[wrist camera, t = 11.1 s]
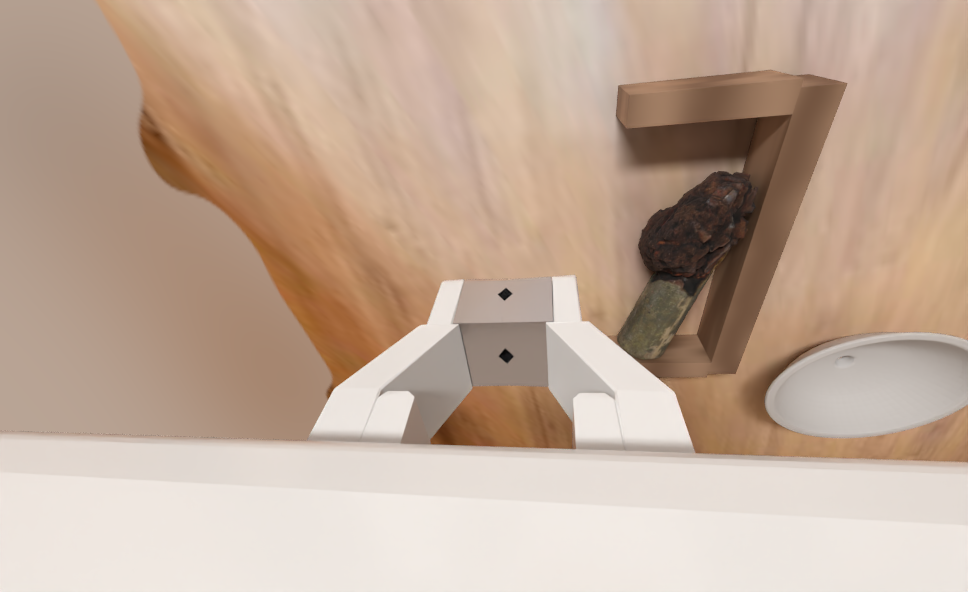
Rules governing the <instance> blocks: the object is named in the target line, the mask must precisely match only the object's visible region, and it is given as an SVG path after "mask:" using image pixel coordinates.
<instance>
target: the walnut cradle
mask: <svg viewBox="0 0 968 592" xmlns="http://www.w3.org/2000/svg"><path fill="white" fill-rule="evenodd" d="M846 86H847V83H844V82H840V81H836V80H831V79H827V78H823V77H818V76H814V75H810V74H808V75H797V76H793V75H789V74H785V73H781V72H777V71H773V70H766V71H756V72H746V73H736V74H726V75H717V76H707V77H697V78H687V79H677V80H667V81H657V82H647V83H637V84H627V85H618V97H617V109H616V116H617V117H618V119H619V120H620V121H621V122H622V124H623V125H624V126H625V127H626V129H627V128H639V127H651V126H662V125H674V124H686V123H697V122H709V121H721V120H732V119H744V118H756V117H758V119H757V123H756V126H755V130H754V133H753V137H752V140H751V144H750V148H749V151H748V155H747V158H746V162H745V165H744V169H743V173H747V174H750V178H749V182H751V185H752V189H754V188H755V186H756V187H758V190H757V193H756V196H755V199H754V204H755V206H756V207H755V209H754V210H753V212H752V213H749V214H747V215H746V216H745V220H747V221H749V222H748V224H747V225H746V227H747V229H748V231H747V232H746V234H745V237H744V238H743V239H739V241H738V243H737V244H736V245H733V247H732V248H731V249H730V251H729V252H728V253H727V254H726V256H725V258H724V259H723V260H722V261H721V262H720V263H719V264H718V265H717V266H716V269H715V273H714V276H713V280H712V283H711V287H710V290H709V294H708V298H707V301H706V305H705V308H704V312H703V315H702V319H701V323H700V326H699V330H698V333H697V335H674V337H673V338H672V340H671V342H670V343H669V345H668V347H667V349H666V350H665V352H664V354H663V355H662V356H661V357H659V358H656V359H638V358H635V357H633V356H631V355H630V356H631V357H633V358H634V359H635V360H636V361H637V362H639V363H640V364H641V365H642V366H643V367H645V368H646V369H647V370H648V371H649V372H651V373H652V374H653V375H654V376H655V377H707V375H708V374H736V371H737V369H738V366H739V363H740V361H741V358H742V356H743V353H744V350H745V348H746V345H747V343H748V340H749V337H750V335H751V332H752V330H753V327H754V324H755V322H756V319H757V317H758V314H759V311H760V309H761V306H762V304H763V301H764V299H765V296H766V293H767V291H768V288H769V286H770V283H771V280H772V278H773V275H774V273H775V270H776V267H777V265H778V262H779V260H780V257H781V254H782V252H783V249H784V247H785V244H786V241H787V239H788V236H789V234H790V231H791V228H792V226H793V223H794V221H795V218H796V216H797V213H798V210H799V208H800V205H801V203H802V200H803V197H804V195H805V192H806V190H807V187H808V184H809V182H810V179H811V177H812V174H813V171H814V169H815V166H816V164H817V161H818V158H819V156H820V153H821V151H822V148H823V145H824V143H825V140H826V138H827V135H828V133H829V130H830V127H831V125H832V122H833V120H834V117H835V114H836V112H837V109H838V107H839V104H840V101H841V99H842V96H843V94H844V91H845V88H846ZM607 337H608V338H610V339H611V340H612V341H613V342H614V343H616V344H617V345H618V346H619V347H620V348H621V346H620V345H619V343H618V341H617V337H618V336H607ZM623 350H624V349H623ZM624 351H625V350H624ZM625 352H626V351H625ZM626 353H627V352H626Z"/></svg>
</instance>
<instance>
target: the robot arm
mask: <svg viewBox="0 0 968 592" xmlns="http://www.w3.org/2000/svg"><path fill="white" fill-rule="evenodd" d="M508 385H510V386H541V387H549V390H550V391H551V392H552V394H553V395H554V397H555V398H556V399H557V401H558V402H559V404H560V405H561V407H562V408H563V409H564V411H565V412H566V414H567V415H568V416H569V418H570V419H571V421H572V422H573V427H572V449H554V448H524V447H493V446H462V445H432V444H431V442H430V439H431V438H432V437H433V436H434V434H435V433H436V432H437V431H438V429H439V428H440V427H441V426H442V425H443V423H444V422H445V421H446V420H447V419H448V417H449V416H450V415H451V414H452V413H453V411H454V410H455V409H456V408H457V406H458V405H459V404H460V403H461V402H462V400H463V399H464V398H465V397H466V396H467V394H468V393H469V392H470V391H471V390H472V386H508ZM0 592H968V462H950V461H919V460H889V459H858V458H827V457H797V456H767V455H737V454H706V453H695V451H694V448H693V445H692V442H691V439H690V436H689V433H688V430H687V427H686V424H685V422H684V419H683V416H682V413H681V410H680V407H679V404H678V401H677V398H676V395H675V392H674V391H672V390H671V389H670V388H669V387H668V386H666V385H665V384H664V383H663V382H661V381H660V380H659V379H658V378H657V377H655V376H654V375H653V374H652V373H651V372H649V371H648V370H647V369H646V368H645V367H643V366H642V365H641V364H640V363H639V362H637V361H636V360H635V359H634V358H633V357H631V356H630V355H629V354H628V353H626V352H625V351H624V350H623V349H622V348H620V347H619V346H618V345H617V344H616V343H614V342H613V341H612V340H611V339H610V338H608V337H607V336H606V335H605V334H604V333H602V332H601V331H600V330H599V329H598V328H596V327H595V326H594V325H593V324H591V323H590V322H582V317H581V309H580V302H579V294H578V286H577V279H576V276H575V275H565V276H552V277H540V278H523V279H468V280H464V279H463V280H445V281H443V282H442V283H441V286H440V289H439V291H438V294H437V297H436V300H435V303H434V306H433V308H432V311H431V314H430V317H429V320H428V323H427V325H420V326H418V327H417V328H416V329H414V330H413V331H412V332H410V333H409V334H408V335H406V336H405V337H404V338H402V339H401V340H400V341H398V342H397V343H395V344H394V345H393V346H391V347H390V348H389V349H387V350H386V351H385V352H383V353H382V354H381V355H379V356H378V357H377V358H375V359H374V360H373V361H371V362H370V363H368V364H367V365H366V366H364V367H363V368H362V369H360V370H359V371H358V372H356V373H355V374H354V375H352V376H351V377H350V378H348V379H347V380H345V381H344V382H343V383H341V384H340V385H339V386H337V387H336V388H335V389H334V390H333V392H332V394H331V396H330V398H329V400H328V402H327V403H326V405H325V407H324V409H323V411H322V413H321V415H320V417H319V418H318V420H317V422H316V424H315V426H314V428H313V430H312V432H311V433H310V435H309V437H308V439H307V440H279V439H248V438H247V439H245V438H217V437H216V438H215V437H186V436H154V435H125V434H124V435H123V434H93V433H63V432H60V433H59V432H32V431H0Z"/></svg>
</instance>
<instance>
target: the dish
mask: <svg viewBox="0 0 968 592" xmlns="http://www.w3.org/2000/svg"><path fill="white" fill-rule="evenodd" d="M843 356H844V357H843ZM840 357H842V358H840ZM838 358H839V359H838ZM966 405H968V340H965V339H962V338H959V337H955V336H951V335H945V334H938V333H926V332H904V333H898V332H879V333H866V334H858V335H852V336H847V337H843V338H839V339H835V340H832V341H829V342H826V343H824V344H821V345H819V346H816V347H814V348H812V349H810V350H809V351H807V352H805V353H804V354H802V355H800V356H799V357H798V358H796V359H795V360H794V361H793V362H792V363H791V364H789V366H788V367H787V368H786V369H785V370H784V371H783V372H782V373H781V374H780V375H779V376H778V377H777V378H776V379H775V380H774V381H773V382H772V383H771V385H770V386H769V388H768V390H767V392H766V395H765V408H766V411H767V413H768V414H769V416H770V417H771V418H772V419H773V420H774V421H775V422H776V423H778V424H779V425H781V426H783V427H785V428H787V429H789V430H791V431H794V432H797V433H801V434H805V435H810V436H816V437H825V438H861V437H871V436H879V435H885V434H891V433H896V432H900V431H904V430H908V429H912V428H916V427H919V426H922V425H925V424H928V423H931V422H934V421H936V420H939V419H941V418H944V417H946V416H948V415H950V414H952V413H954V412H956V411H958V410H960V409H961V408H963V407H965V406H966Z"/></svg>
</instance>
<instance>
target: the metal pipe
mask: <svg viewBox="0 0 968 592" xmlns="http://www.w3.org/2000/svg"><path fill="white" fill-rule="evenodd" d="M749 178H750V174H747V173H739V172H736V173H734V174H733V175H731V174H729V173H728V172H724V171H718V172H717V173H716V172H714V173H712V174H711V175H710V176H708V177H707V178H706V180H704V181H703V182H702V183H701V184H699V185H697V186H696V187H695V188H693V189H691V190H690V191H688V192H687V193H685V194H684V195H683V197H682V198H681V199H680V200H679V201H678V203H677V204H676V205H674V206H673V207H669V208H666V209H665V210H659V211H658V212H657V213H655V214H654V215H653V216H652V217H651V218H650V219H649V221H648V224H647V225H646V227H645V228H644V229H643V230H642V236H641V238H640V241H639V244H638V246H639V249H640V253H641V255H642V258H643V260H644V264H645V266H646V267H647V268H649V269H650V270H652V271H655V273H654V274H653V275H652V277H651V278H650V280H649V282H648V284H647V286H646V287H645V289H644V291H643V293H642V294H641V296H640V298H639V299H638V301H637V303H636V305H635V307H634V309H633V310H632V312H631V313H630V315H629V317H628V318H627V320H626V322H625V324H624V325H623V327H622V329H621V330H620V332H619V334H618V337H617V341H618V343H619V345H620V346H621V348H622V349H624V350H625V351H626V352H627V353H628V354H629V355H631V356H633V357H635V358H638V359H656V358H659V357H661V356H662V355H663V354H664V352H665V350H666V349H667V347H668V345H669V343H670V342H671V340H672V338H673V337H674V335H675V333H676V332H677V330H678V328H679V326H680V325H681V323H682V322H683V320H684V318H685V316H686V315H687V313H688V311H689V310H690V308H691V306H692V305H693V303H694V302H695V300H696V298H697V296H698V294H699V293H700V291H701V290H702V288H703V287H704V285H705V283H706V282H707V280H708V278H709V277H710V275H711V273H712V272H713V270H714V268H715V267H716V266H717V265H718V264H719V263H720V262H721V261H722V260H723V259H724V258H725V256H726V254H727V253H728V252H729V251H730V249H731V248H732V247H733V245H736V244H737V243H738V241H739V239H743V238H744V237H745V234H746V232H747V231H748V229H747V227H746V225H747V224H748V222H749V221H747V220H745V216H746V215H747V214H749V213H752V212H753V210H754V209H755V207H756V206H755V204H754V199H755V196H756V193H757V190H758V187H756V186H755V188H754V189H752V185H751V182H749Z"/></svg>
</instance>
